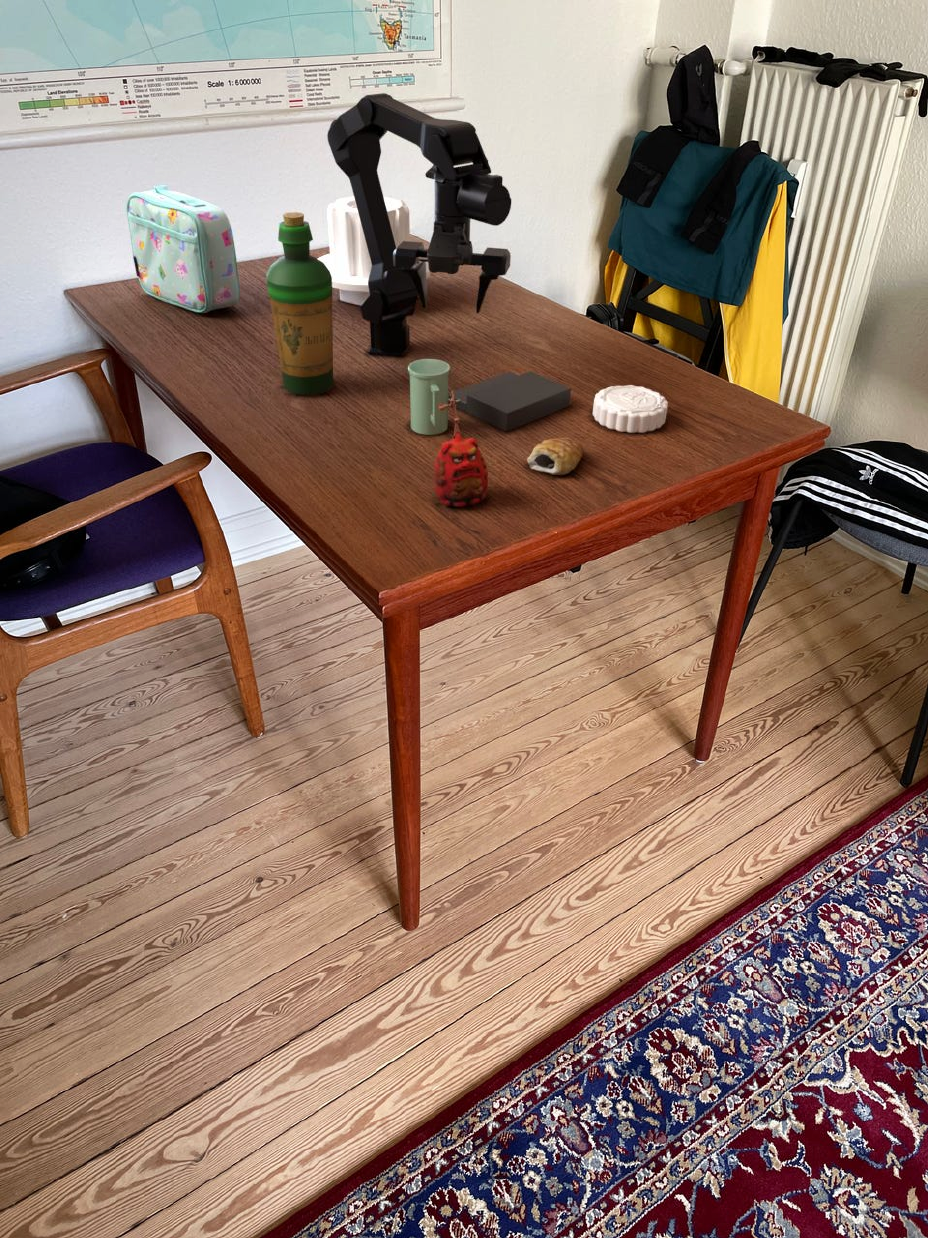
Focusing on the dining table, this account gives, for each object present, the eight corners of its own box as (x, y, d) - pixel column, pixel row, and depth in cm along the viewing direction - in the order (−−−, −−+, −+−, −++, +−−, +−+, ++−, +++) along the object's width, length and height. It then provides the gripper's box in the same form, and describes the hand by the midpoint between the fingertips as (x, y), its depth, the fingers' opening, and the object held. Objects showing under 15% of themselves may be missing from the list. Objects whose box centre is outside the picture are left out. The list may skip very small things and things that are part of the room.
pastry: (555, 445, 141) (557, 422, 139) (593, 457, 138) (596, 434, 136) (523, 468, 135) (525, 444, 133) (562, 481, 132) (565, 458, 130)
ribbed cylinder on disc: (453, 294, 197) (454, 200, 185) (384, 327, 180) (381, 227, 168) (361, 273, 207) (356, 183, 196) (288, 303, 190) (278, 206, 179)
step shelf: (446, 402, 153) (446, 384, 151) (508, 379, 161) (509, 362, 159) (506, 431, 144) (507, 413, 142) (569, 406, 153) (571, 388, 151)
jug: (405, 419, 147) (404, 360, 141) (444, 416, 149) (444, 357, 142) (416, 443, 141) (415, 382, 134) (457, 439, 142) (458, 378, 136)
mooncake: (680, 423, 148) (684, 402, 146) (624, 440, 143) (627, 419, 141) (632, 396, 156) (635, 376, 154) (577, 411, 151) (579, 391, 149)
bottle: (289, 404, 151) (270, 226, 134) (269, 380, 158) (249, 210, 141) (349, 393, 155) (338, 219, 138) (326, 370, 162) (314, 203, 145)
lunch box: (130, 292, 194) (108, 183, 180) (171, 281, 200) (152, 175, 187) (207, 323, 180) (189, 208, 167) (248, 310, 186) (234, 198, 173)
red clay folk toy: (445, 514, 124) (446, 413, 115) (425, 491, 129) (424, 391, 120) (495, 503, 127) (499, 403, 117) (473, 480, 132) (476, 382, 122)
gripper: (382, 220, 139) (385, 321, 149) (502, 229, 137) (497, 331, 146) (400, 203, 148) (402, 299, 158) (513, 211, 145) (508, 308, 155)
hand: (451, 310), depth 154 cm, fingers open, 9 cm apart
